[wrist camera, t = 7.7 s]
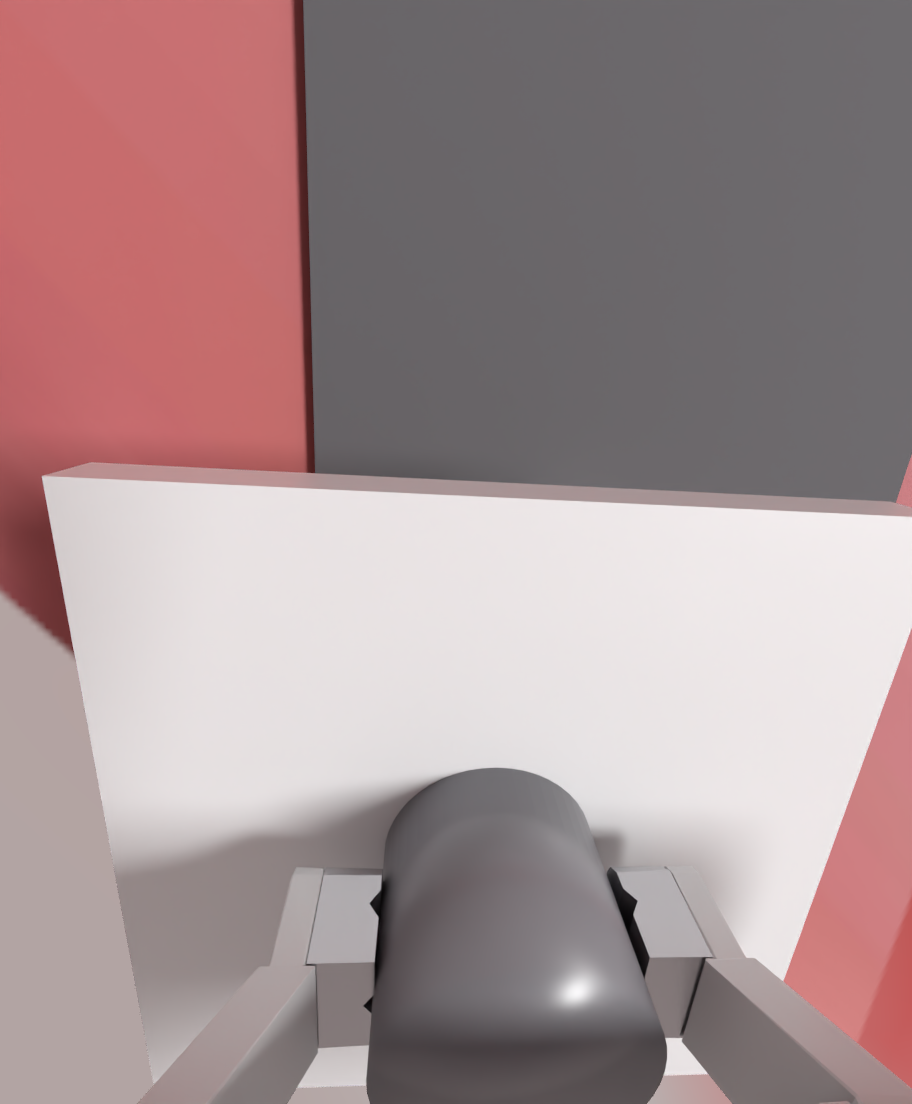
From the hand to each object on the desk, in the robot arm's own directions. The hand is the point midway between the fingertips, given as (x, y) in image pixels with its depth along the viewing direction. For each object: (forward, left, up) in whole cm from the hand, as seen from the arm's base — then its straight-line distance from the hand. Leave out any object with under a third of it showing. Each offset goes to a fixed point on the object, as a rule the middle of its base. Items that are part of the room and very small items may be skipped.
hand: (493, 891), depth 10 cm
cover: (0, 0, -2) cm, 2 cm away
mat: (-12, +5, -11) cm, 17 cm away
